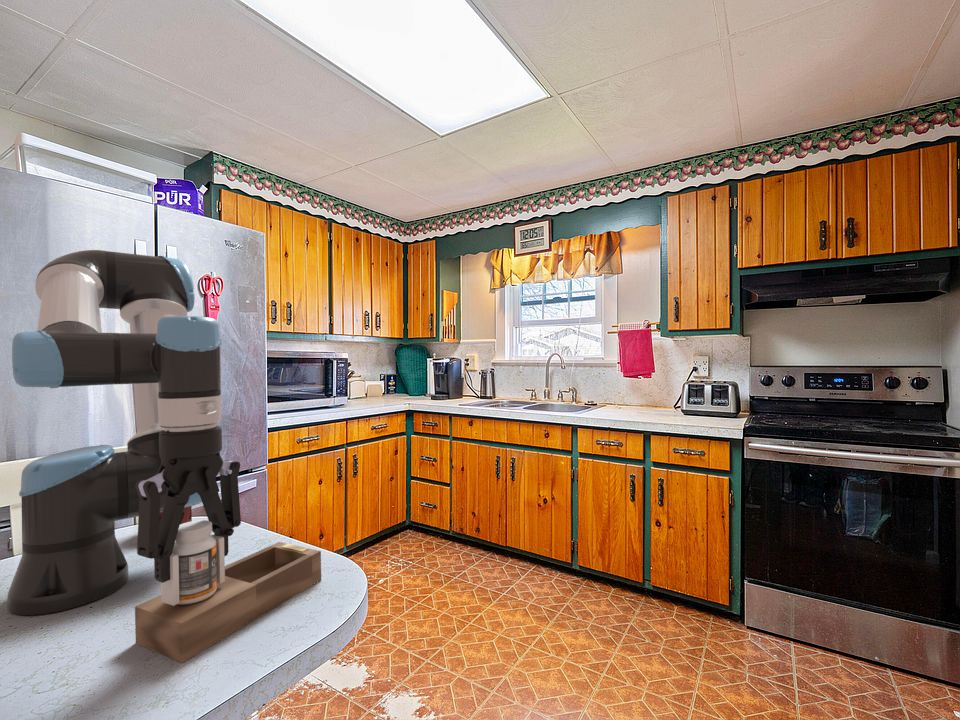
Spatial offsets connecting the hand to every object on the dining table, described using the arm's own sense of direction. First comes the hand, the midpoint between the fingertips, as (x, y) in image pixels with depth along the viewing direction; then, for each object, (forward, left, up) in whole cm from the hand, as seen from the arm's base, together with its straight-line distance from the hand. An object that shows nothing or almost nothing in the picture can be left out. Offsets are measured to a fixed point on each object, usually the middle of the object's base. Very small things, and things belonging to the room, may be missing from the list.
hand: (194, 590), depth 66 cm
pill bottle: (0, 0, -1) cm, 1 cm away
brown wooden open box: (0, +7, -6) cm, 9 cm away
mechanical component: (-42, +23, -6) cm, 49 cm away
